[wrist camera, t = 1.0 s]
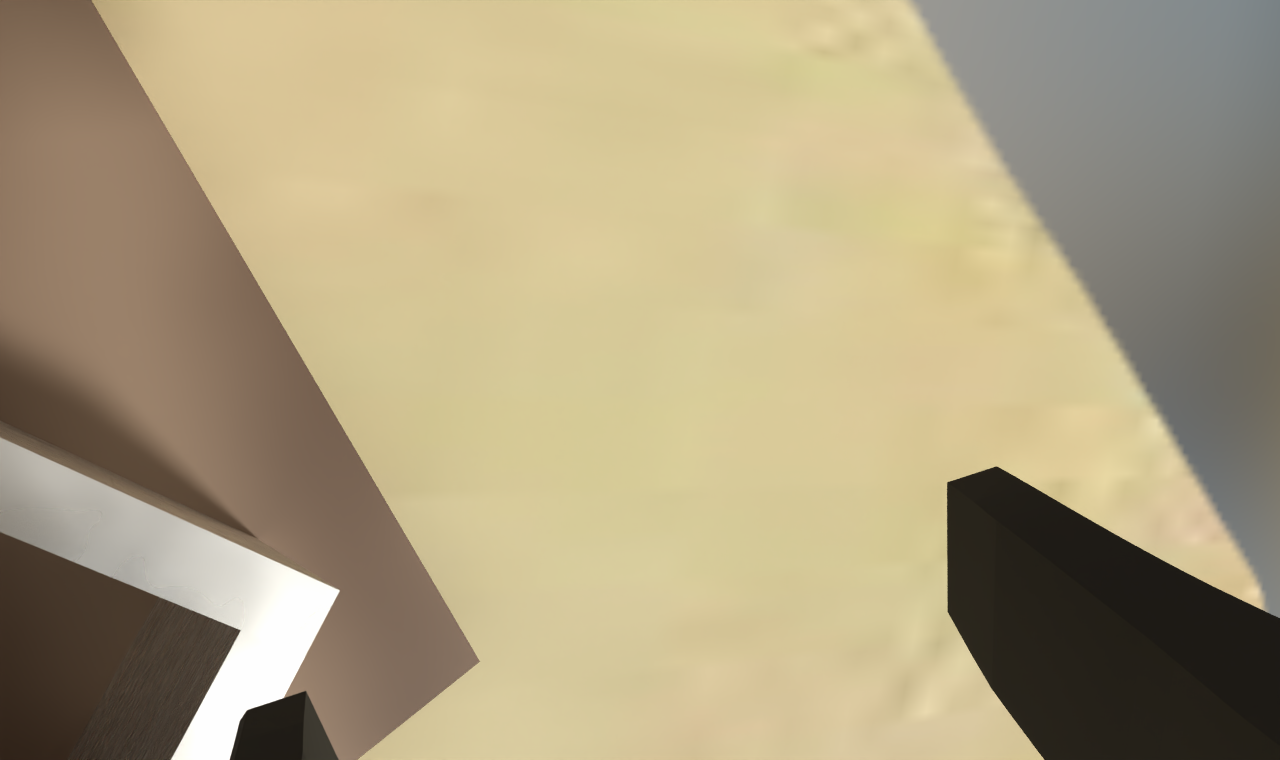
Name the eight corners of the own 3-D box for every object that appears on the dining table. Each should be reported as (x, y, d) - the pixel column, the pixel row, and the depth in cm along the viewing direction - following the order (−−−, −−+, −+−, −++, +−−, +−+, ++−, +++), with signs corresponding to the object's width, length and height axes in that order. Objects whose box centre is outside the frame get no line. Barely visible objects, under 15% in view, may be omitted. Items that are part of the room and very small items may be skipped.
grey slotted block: (83, 859, 19) (132, 984, 15) (-318, 749, 16) (-363, 874, 13) (258, 539, 20) (340, 590, 17) (-85, 382, 17) (-68, 405, 14)
